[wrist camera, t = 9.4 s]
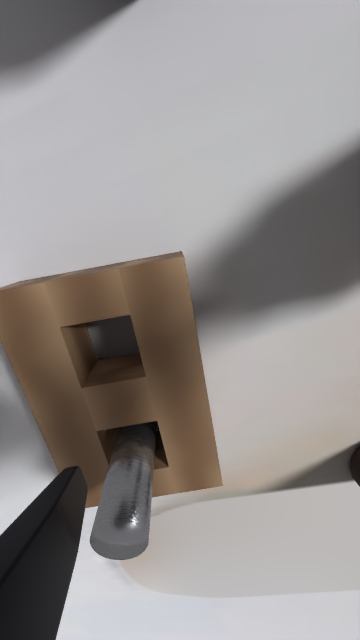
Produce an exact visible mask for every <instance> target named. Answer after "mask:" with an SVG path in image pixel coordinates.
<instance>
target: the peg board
mask: <svg viewBox="0 0 360 640" xmlns="http://www.w3.org/2000/svg"><path fill="white" fill-rule="evenodd" d="M125 315H130V316H131V320H132V324H133V328H134V332H135V336H136V339H137V343H138V347H139V351H140V353H134V354H129V355H123V356H117V357H112V358H106V359H100V360H97V357H96V354H95V351H94V348H93V345H92V341H91V338H90V335H89V332H88V329H87V326H86V323H87V322H92V321H98V320H103V319H109V318H114V317H120V316H125ZM0 340H1V343H2V345H3V347H4V349H5V352H6V354H7V356H8V358H9V361H10V363H11V365H12V367H13V370H14V372H15V374H16V376H17V379H18V381H19V383H20V386H21V388H22V390H23V392H24V395H25V397H26V399H27V401H28V404H29V406H30V408H31V410H32V413H33V415H34V417H35V419H36V422H37V424H38V426H39V428H40V431H41V433H42V435H43V437H44V440H45V442H46V444H47V446H48V449H49V451H50V453H51V455H52V458H53V460H54V462H55V464H56V467H57V469H58V471H59V473H60V472H61V471H62V470H63V469H65V468H67V467H72V466H79V467H80V468H81V470H82V473H83V475H84V478H85V480H86V483H87V487H88V493H87V500H86V506H85V508H89V507H95V506H99V502H100V498H101V494H102V491H103V487H104V483H105V479H106V476H107V472H108V468H109V464H110V460H111V457H112V453H113V449H114V445H115V441H116V438H117V434H118V430H119V427H123V426H129V425H135V424H141V423H147V422H153V421H157V422H158V426H159V430H160V431H156V445H155V458H154V472H153V486H152V497H157V496H163V495H169V494H175V493H182V492H188V491H194V490H200V489H206V488H212V487H219V486H223V483H222V477H221V471H220V465H219V460H218V454H217V448H216V442H215V436H214V430H213V424H212V418H211V413H210V407H209V401H208V395H207V389H206V383H205V377H204V371H203V365H202V360H201V354H200V348H199V342H198V336H197V330H196V324H195V318H194V313H193V307H192V301H191V295H190V289H189V283H188V277H187V271H186V265H185V260H184V256H183V254H182V252H181V251H180V252H175V253H169V254H164V255H159V256H153V257H148V258H143V259H137V260H132V261H127V262H121V263H116V264H111V265H105V266H100V267H95V268H89V269H84V270H79V271H73V272H68V273H63V274H57V275H52V276H47V277H41V278H36V279H31V280H25V281H20V282H16V283H13V284H10V285H7V286H4V287H1V288H0Z"/></svg>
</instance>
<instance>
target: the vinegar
mask: <svg viewBox="0 0 360 640" xmlns="http://www.w3.org/2000/svg"><path fill="white" fill-rule="evenodd" d="M350 469H351V474H352V477H353V478H354V480H355V481H356V482H357V484H358V485H359V486H360V447H359V448H358V449H357V451H356V452H355V454H354V456H353V457H352V460H351V465H350Z"/></svg>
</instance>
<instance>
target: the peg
mask: <svg viewBox="0 0 360 640" xmlns="http://www.w3.org/2000/svg"><path fill="white" fill-rule="evenodd" d="M156 431H157V421H153V422H147V423H141V424H135V425H129V426H123V427H119V430H118V434H117V438H116V441H115V445H114V449H113V453H112V457H111V460H110V464H109V468H108V472H107V476H106V479H105V483H104V487H103V491H102V494H101V498H100V502H99V506H98V510H97V513H96V517H95V521H94V525H93V528H92V532H91V536H90V544H91V546H92V548H93V550H94V551H95V552H96V553H98V554H99V555H101V556H103V557H105V558H109V559H114V560H125V559H131V558H134V557H136V556H138V555H140V554H141V553H142V552H143V551H145V549H146V548H147V546H148V540H149V526H150V513H151V499H152V486H153V472H154V458H155V445H156Z"/></svg>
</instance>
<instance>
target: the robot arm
mask: <svg viewBox="0 0 360 640" xmlns="http://www.w3.org/2000/svg"><path fill="white" fill-rule="evenodd" d="M87 493H88V487H87V483H86V480H85V478H84V475H83V473H82V470H81V468H80V467H79V466H72V467H67V468H65V469H63V470H62V471H61V472H60V473H59V474H58V476H57V477H56V478H55V479H54V480H53V481H52V482H51V483H50V484H49V485H48V486H47V487H46V488H45V489H44V490H43V491H42V492H41V493H40V494H39V495H38V497H37V498H36V499H35V500H34V501H33V502H32V503H31V504H30V505H29V506H28V507H27V508H26V509H25V510H24V511H23V512H22V513H21V514H20V515H19V516H18V518H17V519H16V520H15V521H14V522H13V523H12V524H11V525H10V526H9V527H8V528H7V529H6V530H5V531H4V532H3V533H2V534H1V535H0V640H56V636H57V632H58V628H59V624H60V620H61V616H62V612H63V608H64V604H65V601H66V597H67V593H68V589H69V585H70V581H71V577H72V573H73V569H74V565H75V561H76V557H77V553H78V547H79V542H80V536H81V530H82V524H83V518H84V512H85V506H86V500H87Z"/></svg>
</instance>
